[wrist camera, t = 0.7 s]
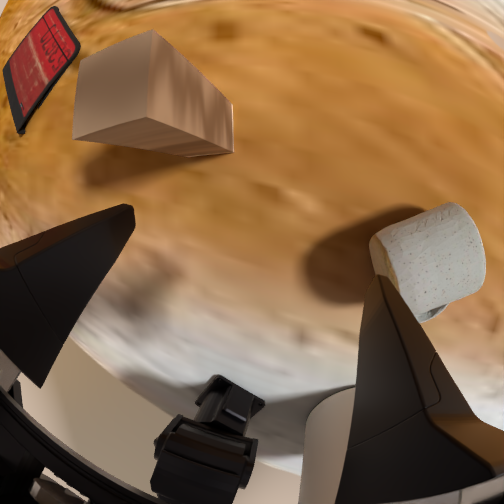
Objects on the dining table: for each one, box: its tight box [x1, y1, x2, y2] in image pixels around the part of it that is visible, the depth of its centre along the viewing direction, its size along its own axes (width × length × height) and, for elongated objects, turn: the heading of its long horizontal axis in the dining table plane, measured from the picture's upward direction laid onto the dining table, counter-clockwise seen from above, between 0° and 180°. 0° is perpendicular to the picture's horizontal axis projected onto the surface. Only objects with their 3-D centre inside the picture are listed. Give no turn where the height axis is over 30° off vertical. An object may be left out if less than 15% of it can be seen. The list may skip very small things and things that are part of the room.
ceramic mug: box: [369, 202, 486, 323], centre depth 18 cm, size 11×8×8 cm
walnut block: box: [72, 29, 234, 157], centre depth 16 cm, size 4×4×14 cm
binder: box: [3, 6, 81, 134], centre depth 23 cm, size 16×2×21 cm
